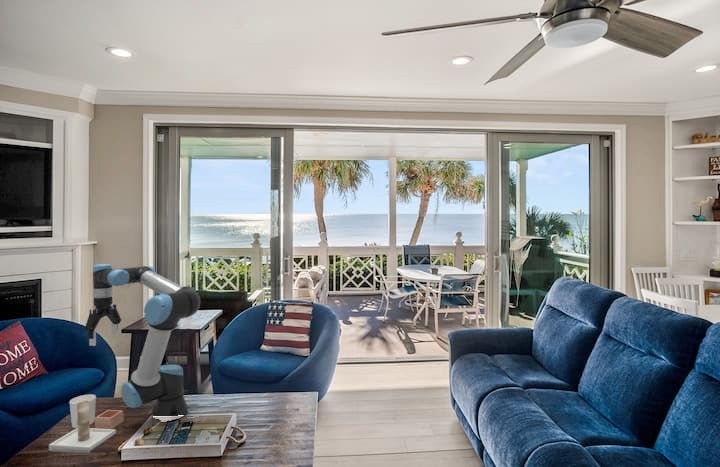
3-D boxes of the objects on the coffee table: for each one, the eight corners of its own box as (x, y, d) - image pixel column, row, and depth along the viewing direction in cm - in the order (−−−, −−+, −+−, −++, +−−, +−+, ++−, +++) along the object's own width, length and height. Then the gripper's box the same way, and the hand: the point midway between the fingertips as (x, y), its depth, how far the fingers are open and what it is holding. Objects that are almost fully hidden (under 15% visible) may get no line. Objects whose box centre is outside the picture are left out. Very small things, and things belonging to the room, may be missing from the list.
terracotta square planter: (123, 423, 181) (123, 410, 181) (111, 432, 174) (110, 418, 174) (108, 422, 182) (108, 409, 182) (95, 431, 175) (94, 417, 175)
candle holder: (83, 431, 175) (82, 404, 174) (64, 429, 177) (63, 402, 176) (101, 421, 184) (101, 395, 184) (83, 419, 186) (83, 393, 186)
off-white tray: (116, 435, 171) (116, 429, 171) (89, 453, 157) (89, 447, 157) (78, 433, 173) (78, 427, 173) (49, 450, 160) (48, 444, 160)
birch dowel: (92, 436, 167) (91, 400, 167) (84, 441, 163) (83, 405, 163) (83, 436, 168) (82, 400, 168) (75, 441, 164) (74, 404, 164)
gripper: (115, 292, 204) (116, 334, 204) (73, 301, 179) (75, 348, 179) (128, 292, 203) (129, 334, 203) (89, 301, 178) (90, 349, 178)
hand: (104, 341), depth 191 cm, fingers open, 13 cm apart
